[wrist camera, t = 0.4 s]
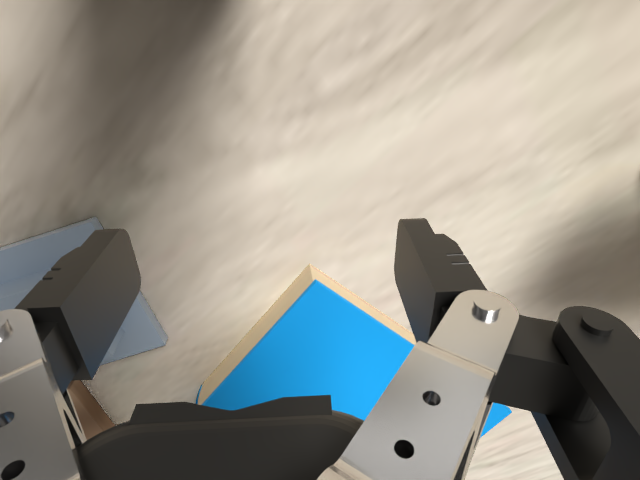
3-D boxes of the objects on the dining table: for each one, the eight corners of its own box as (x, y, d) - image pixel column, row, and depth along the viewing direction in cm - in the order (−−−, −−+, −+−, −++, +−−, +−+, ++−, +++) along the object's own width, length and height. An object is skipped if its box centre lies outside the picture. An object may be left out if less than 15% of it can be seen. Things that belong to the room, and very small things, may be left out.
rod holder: (-55, 265, 31) (-98, 294, 27) (96, 216, 30) (72, 239, 27) (38, 377, 36) (13, 414, 32) (167, 337, 36) (156, 370, 32)
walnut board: (-91, 428, 37) (-104, 442, 35) (77, 375, 36) (69, 388, 35) (39, 545, 46) (32, 560, 44) (175, 504, 45) (172, 518, 44)
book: (313, 280, 31) (516, 413, 39) (309, 254, 35) (494, 380, 43) (190, 420, 35) (395, 512, 44) (198, 383, 39) (385, 474, 48)
